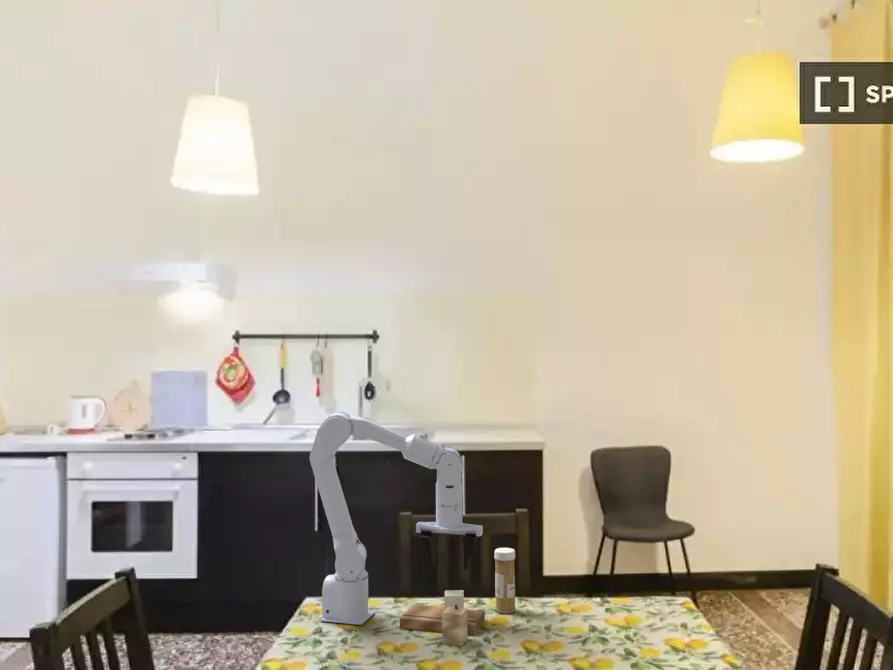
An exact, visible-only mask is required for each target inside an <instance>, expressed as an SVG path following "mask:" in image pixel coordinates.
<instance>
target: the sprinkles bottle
mask: <svg viewBox="0 0 893 670" xmlns="http://www.w3.org/2000/svg"><path fill="white" fill-rule="evenodd" d="M493 558H494V561H495V562H494V563H495V564H494V565H495V566H494V567H495V568H494V569H495V573H494V590H495V592H494V596H495V607H494V608H495V609H494V610H495V612H497V613H499V614H507V615H508V614H512V613H515V611H516V580H515V579H516V575H515V559H516V551H515V548H511V547H498V548H496V549H495V550H494V556H493Z"/></svg>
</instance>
